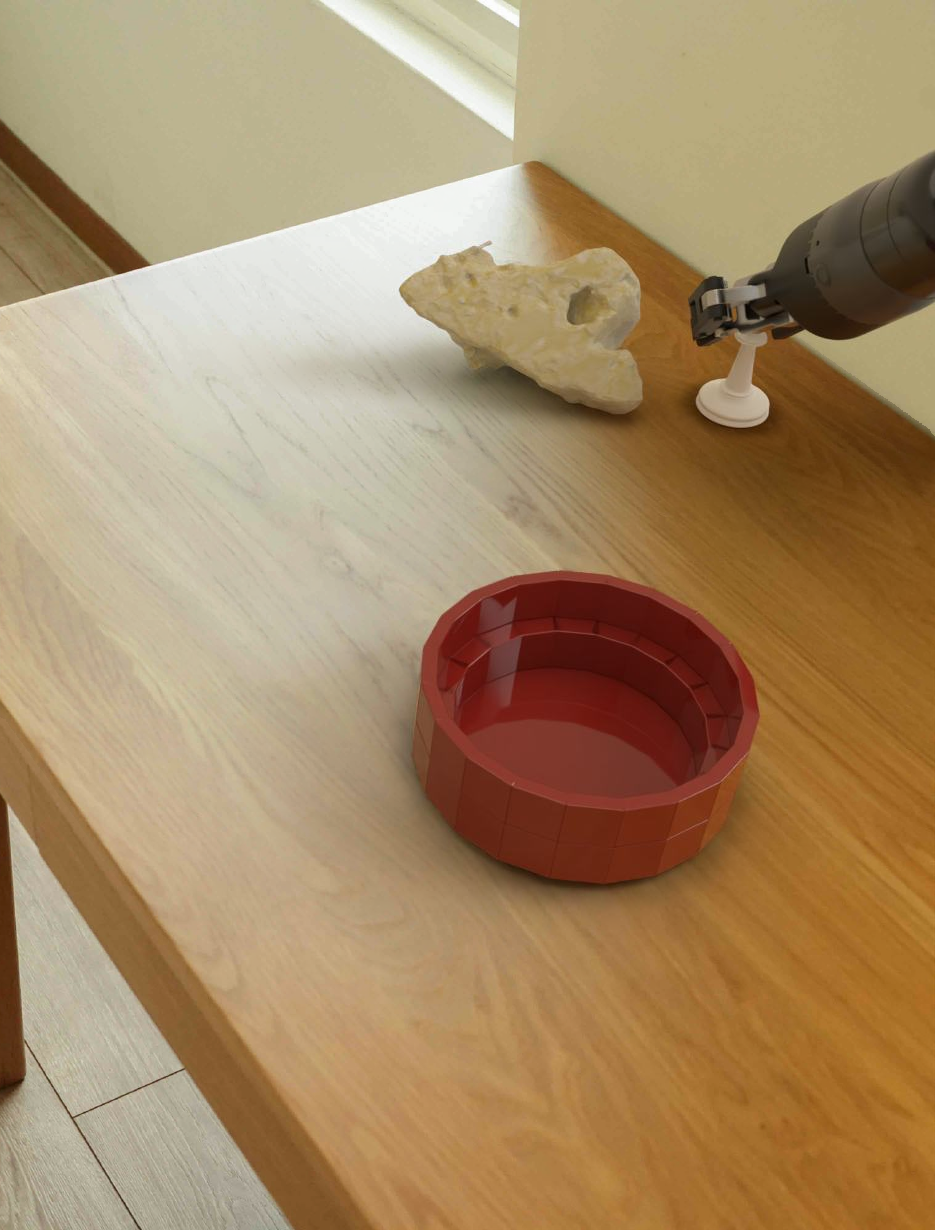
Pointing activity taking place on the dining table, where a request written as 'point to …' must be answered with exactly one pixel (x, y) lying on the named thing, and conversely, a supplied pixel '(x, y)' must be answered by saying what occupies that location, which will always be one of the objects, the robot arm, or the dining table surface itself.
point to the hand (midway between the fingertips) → (737, 327)
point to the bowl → (582, 725)
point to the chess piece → (736, 390)
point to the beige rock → (540, 320)
